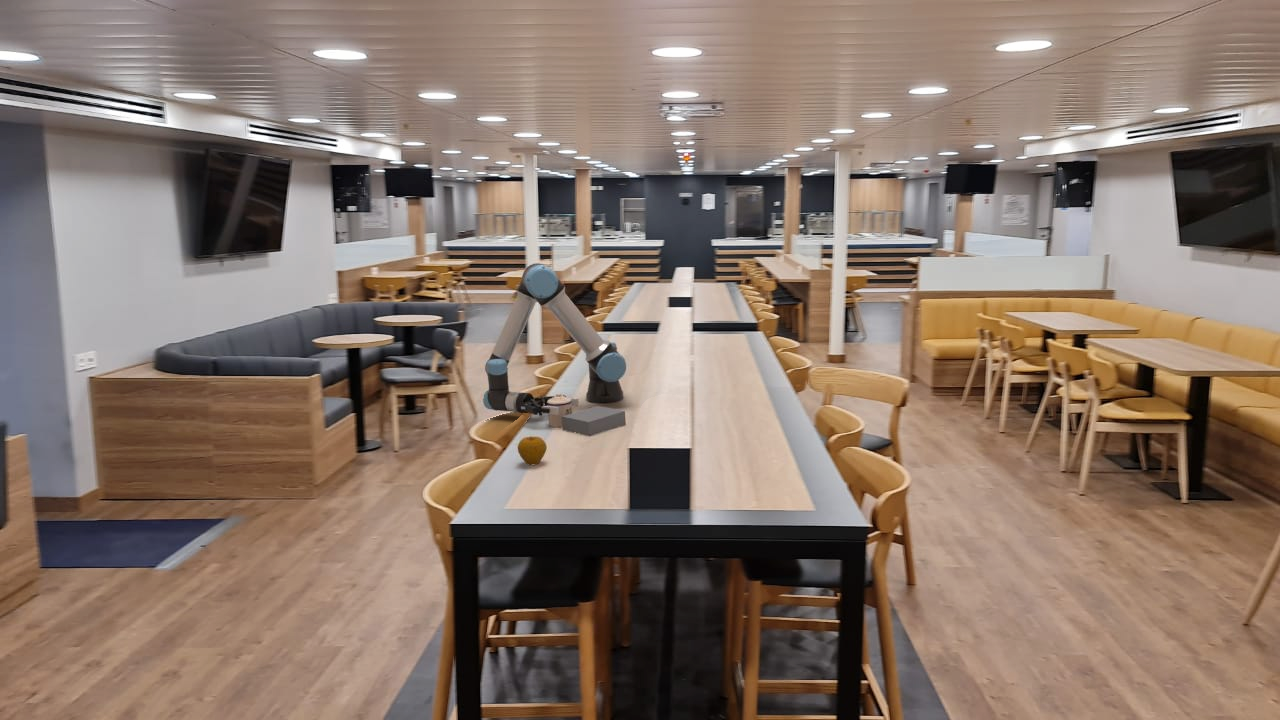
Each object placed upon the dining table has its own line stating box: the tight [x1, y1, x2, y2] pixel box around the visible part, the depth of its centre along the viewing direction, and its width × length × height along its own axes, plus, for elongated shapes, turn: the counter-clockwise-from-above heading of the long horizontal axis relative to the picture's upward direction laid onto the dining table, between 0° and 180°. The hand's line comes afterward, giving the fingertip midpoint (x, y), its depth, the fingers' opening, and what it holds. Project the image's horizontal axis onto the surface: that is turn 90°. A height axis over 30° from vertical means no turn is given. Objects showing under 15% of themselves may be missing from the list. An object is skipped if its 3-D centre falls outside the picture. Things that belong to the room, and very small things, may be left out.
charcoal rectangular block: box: [561, 405, 626, 437], centre depth 316 cm, size 18×14×5 cm
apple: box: [517, 435, 548, 466], centre depth 276 cm, size 9×9×9 cm
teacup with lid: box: [547, 392, 573, 428], centre depth 323 cm, size 12×9×12 cm
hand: (568, 406), depth 321 cm, fingers open, 13 cm apart
